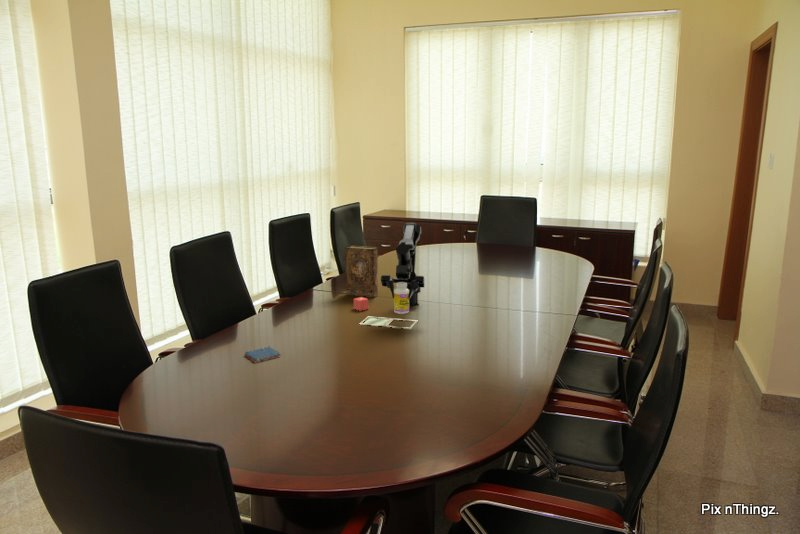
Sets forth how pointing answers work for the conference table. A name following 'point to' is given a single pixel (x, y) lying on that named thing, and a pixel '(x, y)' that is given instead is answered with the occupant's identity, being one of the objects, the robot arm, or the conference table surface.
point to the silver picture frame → (384, 322)
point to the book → (361, 271)
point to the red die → (361, 303)
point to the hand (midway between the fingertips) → (401, 298)
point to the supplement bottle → (401, 298)
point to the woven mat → (262, 354)
